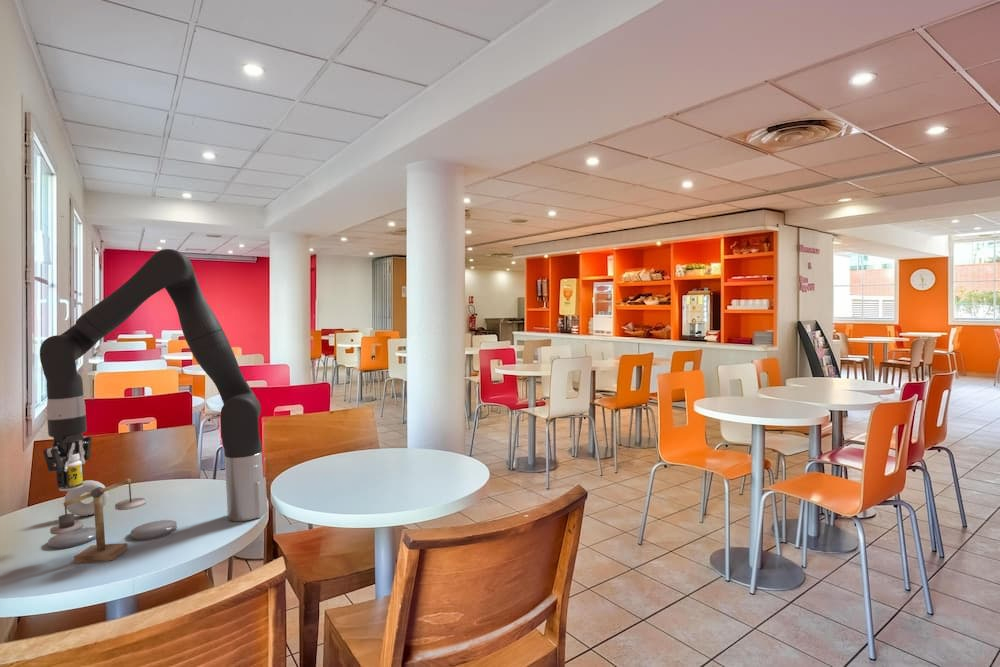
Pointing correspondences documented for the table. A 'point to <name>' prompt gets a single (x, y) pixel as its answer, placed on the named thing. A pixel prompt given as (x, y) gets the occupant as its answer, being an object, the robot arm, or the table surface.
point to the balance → (97, 525)
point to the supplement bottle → (74, 473)
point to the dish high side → (153, 530)
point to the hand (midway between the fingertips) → (71, 482)
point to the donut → (80, 507)
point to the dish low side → (72, 538)
